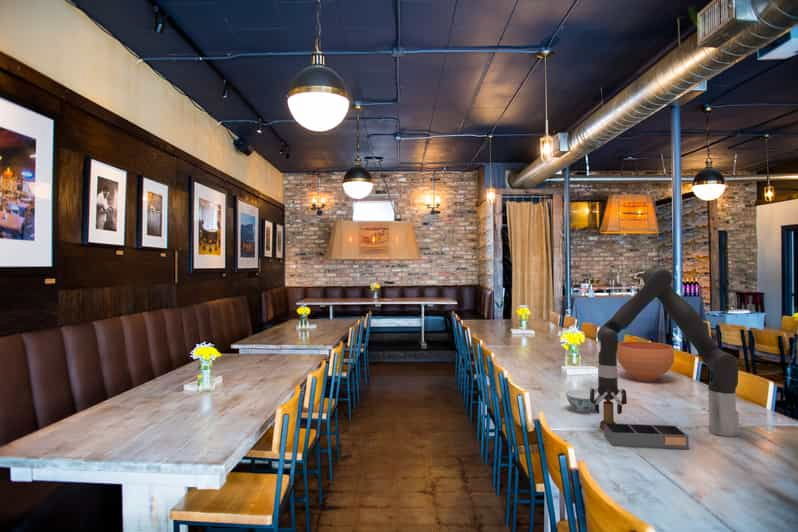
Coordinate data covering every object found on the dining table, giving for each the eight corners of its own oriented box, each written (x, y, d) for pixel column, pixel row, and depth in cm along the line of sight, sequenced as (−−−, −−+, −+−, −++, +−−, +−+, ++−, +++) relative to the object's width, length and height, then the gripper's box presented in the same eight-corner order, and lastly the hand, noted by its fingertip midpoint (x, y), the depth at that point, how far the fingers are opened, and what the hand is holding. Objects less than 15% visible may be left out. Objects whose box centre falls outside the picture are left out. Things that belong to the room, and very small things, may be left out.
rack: (675, 438, 185) (675, 425, 185) (689, 449, 173) (688, 436, 173) (604, 435, 189) (604, 423, 189) (612, 446, 177) (612, 433, 177)
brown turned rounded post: (607, 432, 192) (606, 388, 193) (596, 426, 199) (596, 385, 199) (620, 430, 194) (620, 387, 194) (609, 425, 201) (609, 383, 201)
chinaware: (603, 415, 213) (602, 399, 213) (568, 414, 216) (568, 397, 216) (595, 406, 228) (595, 390, 228) (563, 404, 231) (563, 389, 231)
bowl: (606, 377, 285) (605, 343, 285) (639, 371, 298) (639, 339, 298) (650, 388, 258) (650, 351, 258) (685, 381, 271) (685, 346, 271)
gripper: (622, 373, 199) (623, 411, 199) (587, 372, 201) (588, 410, 201) (628, 377, 192) (629, 416, 192) (592, 376, 194) (592, 415, 194)
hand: (608, 413), depth 197 cm, fingers open, 8 cm apart
